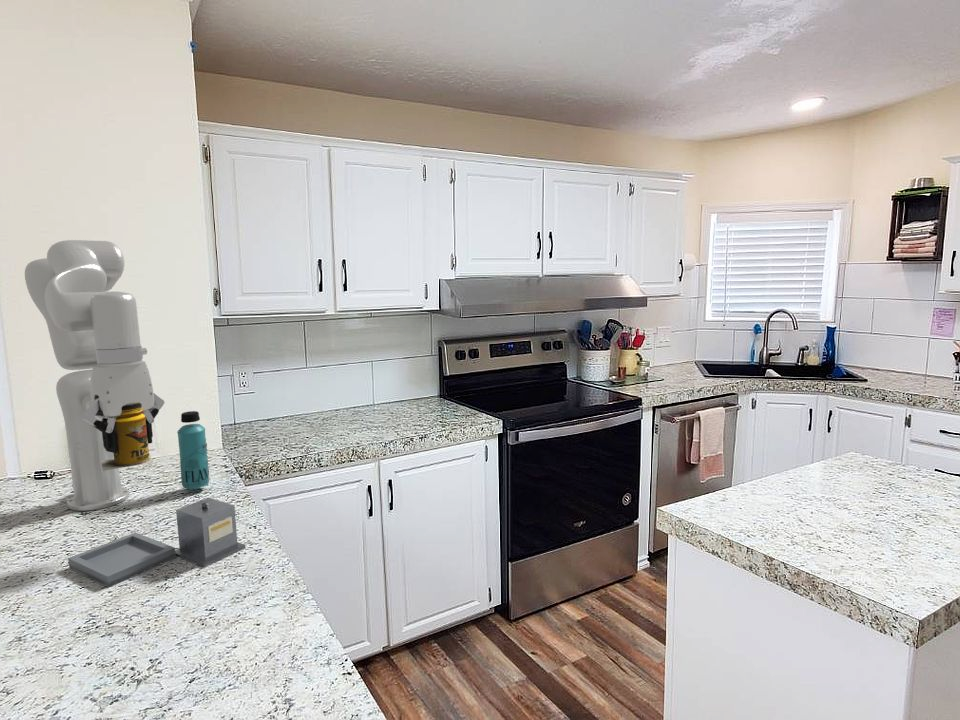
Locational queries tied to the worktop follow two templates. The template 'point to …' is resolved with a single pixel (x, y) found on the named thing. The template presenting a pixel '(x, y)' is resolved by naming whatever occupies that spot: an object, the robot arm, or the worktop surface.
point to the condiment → (130, 439)
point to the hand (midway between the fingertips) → (129, 446)
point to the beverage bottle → (193, 452)
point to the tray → (121, 559)
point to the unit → (207, 532)
